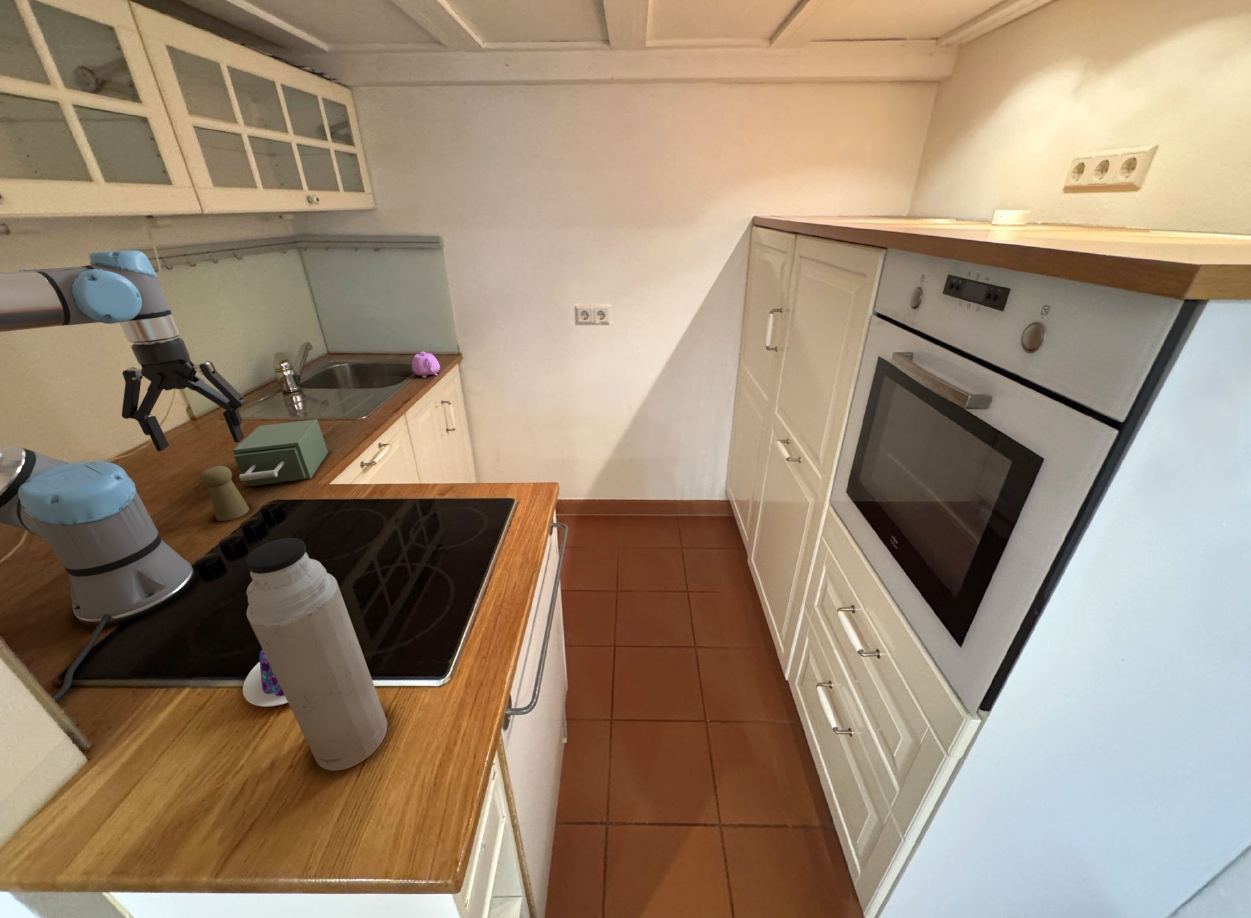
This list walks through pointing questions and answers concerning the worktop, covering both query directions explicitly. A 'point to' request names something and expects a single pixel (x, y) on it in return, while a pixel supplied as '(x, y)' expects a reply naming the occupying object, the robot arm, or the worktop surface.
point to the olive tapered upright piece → (223, 493)
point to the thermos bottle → (314, 653)
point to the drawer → (270, 466)
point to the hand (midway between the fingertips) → (202, 444)
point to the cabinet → (289, 442)
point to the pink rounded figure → (425, 364)
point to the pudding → (263, 685)
